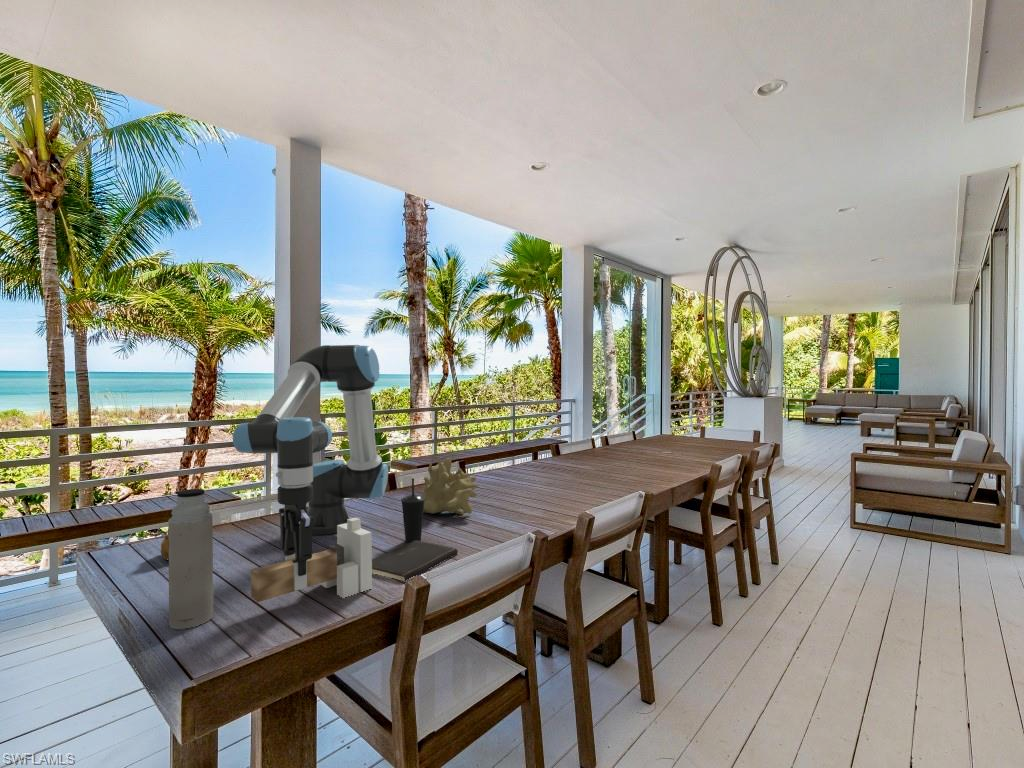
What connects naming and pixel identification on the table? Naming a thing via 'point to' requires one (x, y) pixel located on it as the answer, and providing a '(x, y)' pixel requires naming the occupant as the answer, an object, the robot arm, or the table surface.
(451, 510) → the decorative coral
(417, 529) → the drinking cup
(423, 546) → the hardcover book
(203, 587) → the thermos bottle
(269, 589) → the tan piece
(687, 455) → the table surface
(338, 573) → the white block with nub
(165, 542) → the bread roll
